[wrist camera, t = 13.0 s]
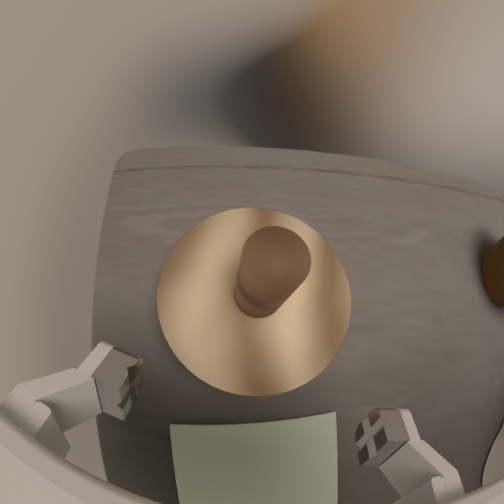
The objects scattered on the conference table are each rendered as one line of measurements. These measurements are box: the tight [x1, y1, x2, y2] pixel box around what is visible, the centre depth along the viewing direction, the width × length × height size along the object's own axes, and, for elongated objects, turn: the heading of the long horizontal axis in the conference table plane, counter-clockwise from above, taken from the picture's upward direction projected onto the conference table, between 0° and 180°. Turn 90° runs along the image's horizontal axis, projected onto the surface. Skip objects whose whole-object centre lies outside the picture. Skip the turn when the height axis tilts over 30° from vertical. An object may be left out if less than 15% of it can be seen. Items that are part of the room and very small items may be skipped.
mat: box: [170, 411, 338, 504], centre depth 19 cm, size 16×16×1 cm
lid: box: [157, 208, 351, 396], centre depth 18 cm, size 15×15×8 cm
